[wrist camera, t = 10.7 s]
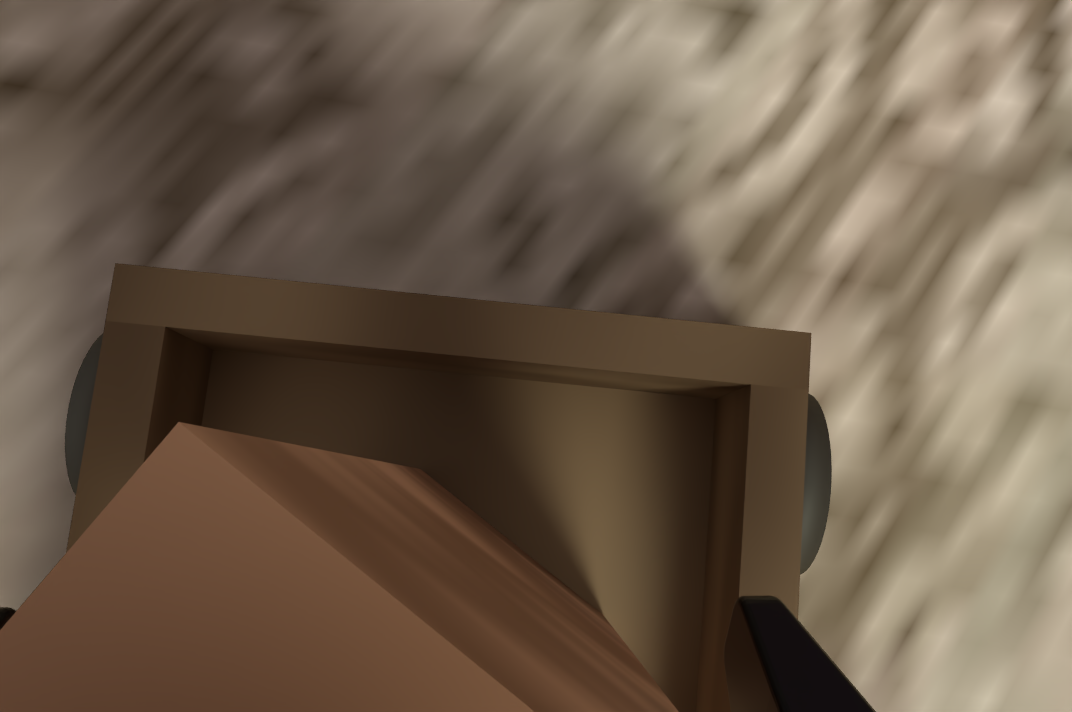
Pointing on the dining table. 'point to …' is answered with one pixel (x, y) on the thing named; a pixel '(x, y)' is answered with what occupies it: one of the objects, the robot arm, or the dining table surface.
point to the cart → (498, 432)
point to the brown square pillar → (305, 599)
